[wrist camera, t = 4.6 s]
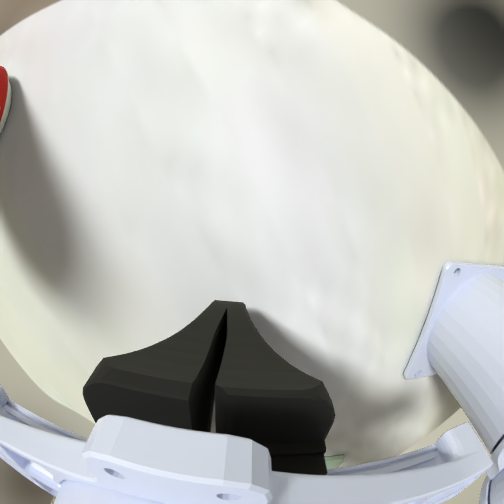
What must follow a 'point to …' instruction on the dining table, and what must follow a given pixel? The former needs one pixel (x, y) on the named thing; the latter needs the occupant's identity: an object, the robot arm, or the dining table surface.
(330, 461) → the pad
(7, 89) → the beverage can
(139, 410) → the robot arm
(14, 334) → the dining table surface
